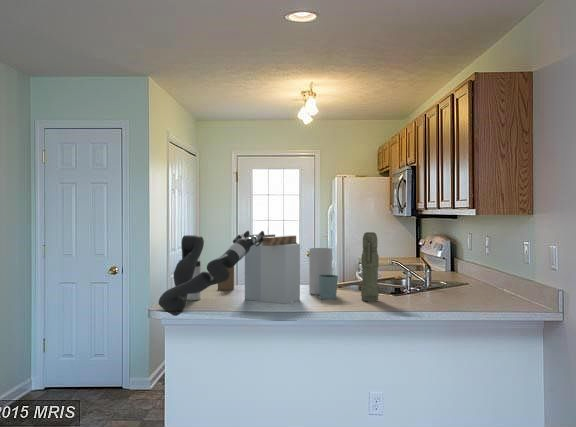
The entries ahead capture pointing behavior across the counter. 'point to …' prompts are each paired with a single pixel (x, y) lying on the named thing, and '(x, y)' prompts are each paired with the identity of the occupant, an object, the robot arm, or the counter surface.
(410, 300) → the counter surface
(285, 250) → the stand
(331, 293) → the teal cup
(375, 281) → the thermos
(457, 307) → the counter surface
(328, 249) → the cylinder vase
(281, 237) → the walnut bar
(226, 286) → the wooden block
